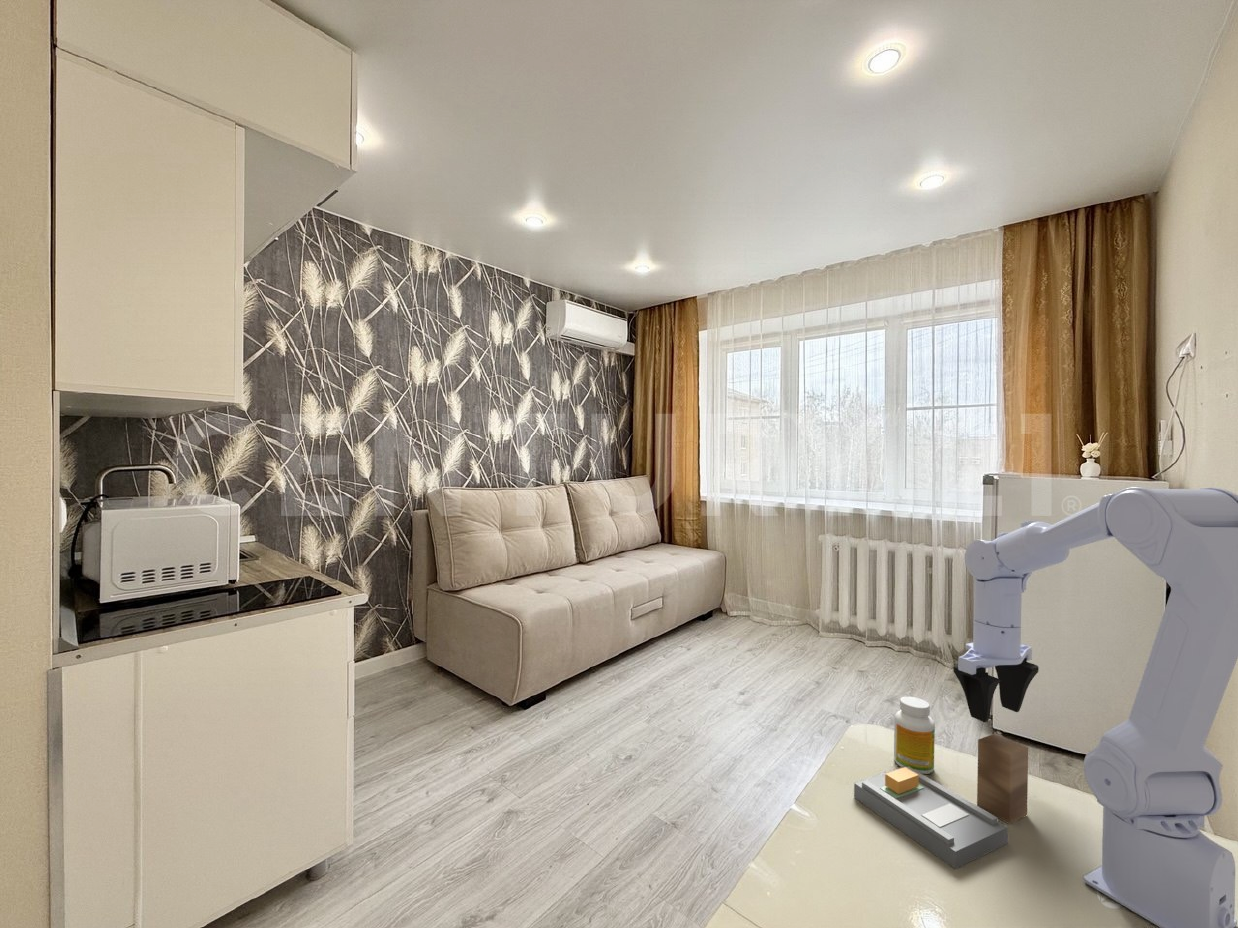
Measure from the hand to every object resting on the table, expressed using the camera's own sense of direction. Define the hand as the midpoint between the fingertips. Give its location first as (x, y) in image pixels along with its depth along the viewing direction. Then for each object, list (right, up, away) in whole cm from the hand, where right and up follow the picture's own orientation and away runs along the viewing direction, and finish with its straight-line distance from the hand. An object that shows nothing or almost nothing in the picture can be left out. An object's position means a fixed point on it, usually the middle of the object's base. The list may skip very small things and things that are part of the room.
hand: (995, 713), depth 78 cm
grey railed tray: (-16, -9, -9) cm, 20 cm away
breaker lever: (-17, -7, -6) cm, 19 cm away
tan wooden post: (-4, -9, -7) cm, 13 cm away
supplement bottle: (-10, -10, +3) cm, 14 cm away
